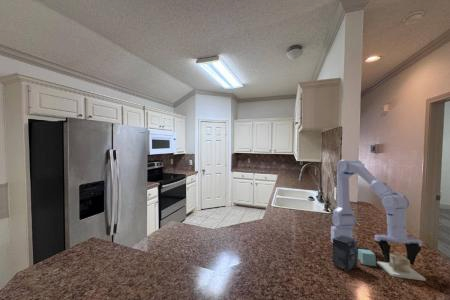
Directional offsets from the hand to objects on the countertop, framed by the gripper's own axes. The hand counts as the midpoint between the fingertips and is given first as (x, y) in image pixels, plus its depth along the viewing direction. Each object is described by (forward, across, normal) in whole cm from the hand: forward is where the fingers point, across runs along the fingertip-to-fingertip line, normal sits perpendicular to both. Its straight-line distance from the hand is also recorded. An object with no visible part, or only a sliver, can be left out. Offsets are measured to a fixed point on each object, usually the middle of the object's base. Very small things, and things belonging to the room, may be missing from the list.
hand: (398, 262), depth 73 cm
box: (+4, -19, -2) cm, 19 cm away
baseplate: (+3, 0, 0) cm, 3 cm away
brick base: (+2, 0, 0) cm, 2 cm away
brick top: (+3, -9, +4) cm, 11 cm away
